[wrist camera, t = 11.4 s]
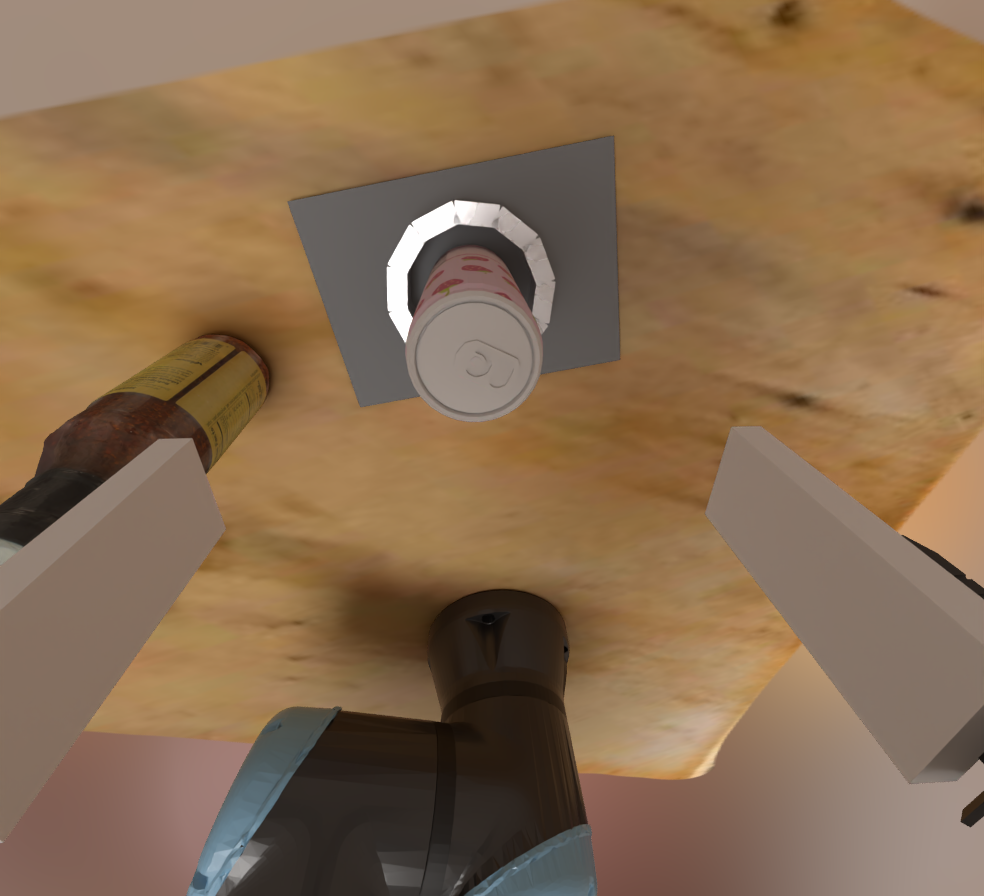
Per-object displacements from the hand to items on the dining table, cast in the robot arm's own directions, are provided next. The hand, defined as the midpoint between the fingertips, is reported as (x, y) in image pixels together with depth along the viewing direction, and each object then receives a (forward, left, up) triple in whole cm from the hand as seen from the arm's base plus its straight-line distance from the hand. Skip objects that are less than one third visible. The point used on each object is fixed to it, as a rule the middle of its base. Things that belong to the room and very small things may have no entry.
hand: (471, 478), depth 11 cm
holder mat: (0, -1, -23) cm, 23 cm away
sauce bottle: (+11, +14, -23) cm, 29 cm away
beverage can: (0, -1, -22) cm, 22 cm away
